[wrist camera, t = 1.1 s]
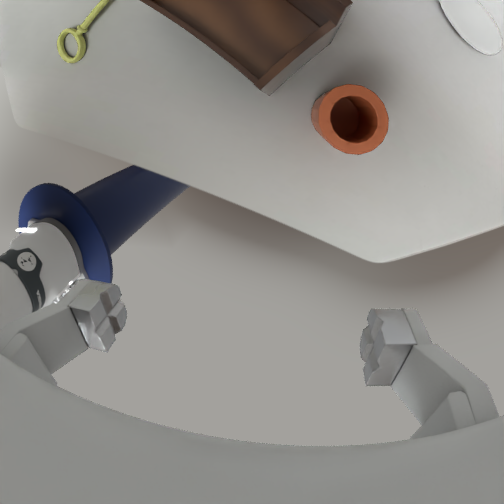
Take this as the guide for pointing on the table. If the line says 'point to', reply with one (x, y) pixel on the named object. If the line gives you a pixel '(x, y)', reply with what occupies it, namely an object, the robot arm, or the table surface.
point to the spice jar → (351, 119)
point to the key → (78, 35)
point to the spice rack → (260, 32)
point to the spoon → (474, 24)
